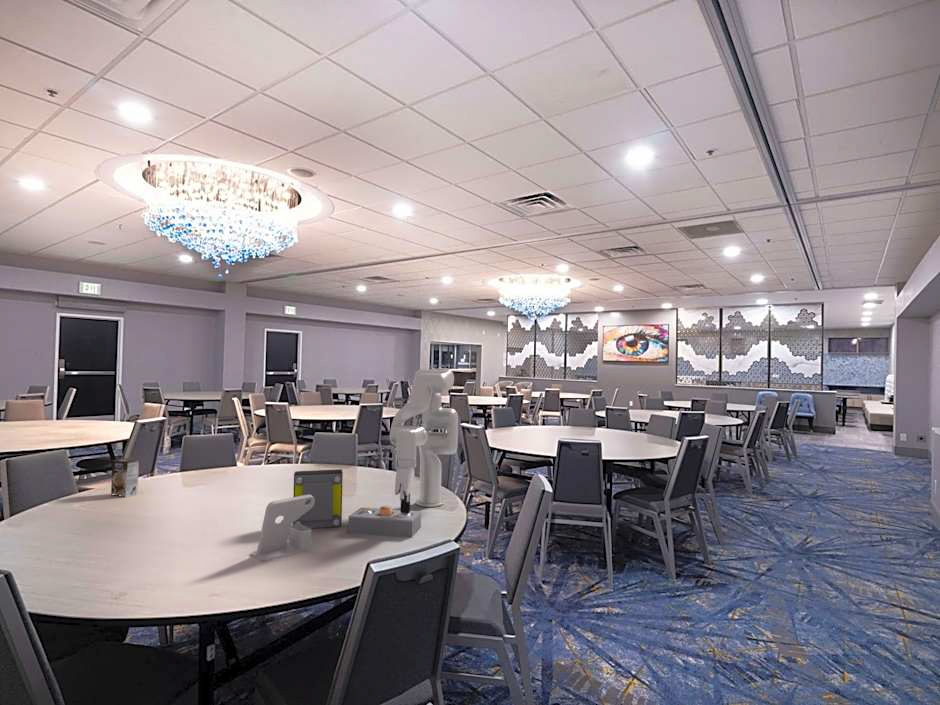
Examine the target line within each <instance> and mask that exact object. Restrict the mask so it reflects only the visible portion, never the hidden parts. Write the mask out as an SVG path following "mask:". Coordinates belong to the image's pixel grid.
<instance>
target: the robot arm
mask: <svg viewBox="0 0 940 705" xmlns="http://www.w3.org/2000/svg"><path fill="white" fill-rule="evenodd" d="M454 383H455V375H454V372H453V371H452V370H451V369H436V368H434V369H431V368H427V369H426V368H423V369H419V370H417V371H415V373H414V378H413V382H412V384H411V390H410V395H409V399H408V402H407V403H406V404H404V405H403V406H402V407H401V408H400V409H399V410H398V411H397V412H396V413H395V415H394V417H393V419H392V422H391V426H390V431H389V440H390V442H391V444H393V445H394V446H395V468H396V471H395V472H396V474H395V484H394V486H395V487H394V495H395V496H398V495H399V500H400V510H401V513H409V512H410V511H411V494H412V492H413V491H414V490H415V483H416V482H415V478H416V477H415V468H416V467H417V447H418V451H419V465H420V466H419V498H418V499H416V500H415V504H416V506H419V507H427V508H432V507H433V508H434V507H441V506H443V505H444V504H445V500H444V499H442V461H441V460H440V458H439V457H438V455H455V454H456V453H457V452H458V451H457V450H458V444H459V443H458V442H459V440H458V439H459V416H458V412H457V411H456V409H454V408H452V407H451V408H450V407H449V408H448V407H443V405H442V394H446V393H447V392H448V391H449V390H451V389H452V388H453V386H454ZM418 415H422V416H421V417H422V418H421V420H422V421H421V422H422V426H419V425H418V426H417V425H414V426H413V425H403V423H405V422H407V420H409V419H411V418H413V417H416V416H418ZM427 429H429V430H443V431H444V430H445V431H446V432H440V431H439V432H438V431H427Z"/></svg>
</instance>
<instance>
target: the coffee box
mask: <svg viewBox="0 0 940 705" xmlns="http://www.w3.org/2000/svg"><path fill="white" fill-rule="evenodd" d="M139 463H140V459H134V458H119V459H113V460H111V491H110V495H111V494H115V495H121V496H129V495H133V494H137V495H138V489H139V470H140V469H139V468H140V467H139V465H140V464H139ZM133 496H134V495H133ZM129 497H130V496H129Z"/></svg>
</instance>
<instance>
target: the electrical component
mask: <svg viewBox="0 0 940 705" xmlns="http://www.w3.org/2000/svg"><path fill="white" fill-rule="evenodd" d="M303 495H312V496H313V497H314V498H315V503H314V506H313V507H312V508H311V509H310V510H309V511H307V512H306V513H305V514H303V515H302V516H301V517H300V518H298V519H297V520H296V521H294V522H293V523H292V525H295V524H300V525H303V526H306V527H308V528H310V529H313V528H314V529H315V528H318V529H319V528H330V527H331V528H332V527H341V526H342V518H343V515H342V514H343V513H342V512H343V469H340V468H339V469H322V470H321V469H319V470H301V471H300V470H298V471H294V474H293V497H298V496H303ZM293 497H292V498H293ZM310 502H311V499H308V500H307V501H306V502H305V505H307V504H309V503H310Z"/></svg>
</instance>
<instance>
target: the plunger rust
mask: <svg viewBox="0 0 940 705" xmlns="http://www.w3.org/2000/svg"><path fill="white" fill-rule="evenodd" d="M379 509H380V515H381V516H391V515H392V510H393V509H392V506H390V505H382V506H380V507H379Z"/></svg>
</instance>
